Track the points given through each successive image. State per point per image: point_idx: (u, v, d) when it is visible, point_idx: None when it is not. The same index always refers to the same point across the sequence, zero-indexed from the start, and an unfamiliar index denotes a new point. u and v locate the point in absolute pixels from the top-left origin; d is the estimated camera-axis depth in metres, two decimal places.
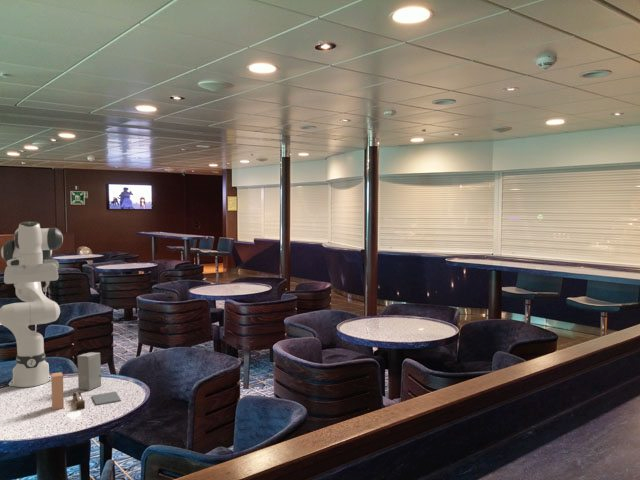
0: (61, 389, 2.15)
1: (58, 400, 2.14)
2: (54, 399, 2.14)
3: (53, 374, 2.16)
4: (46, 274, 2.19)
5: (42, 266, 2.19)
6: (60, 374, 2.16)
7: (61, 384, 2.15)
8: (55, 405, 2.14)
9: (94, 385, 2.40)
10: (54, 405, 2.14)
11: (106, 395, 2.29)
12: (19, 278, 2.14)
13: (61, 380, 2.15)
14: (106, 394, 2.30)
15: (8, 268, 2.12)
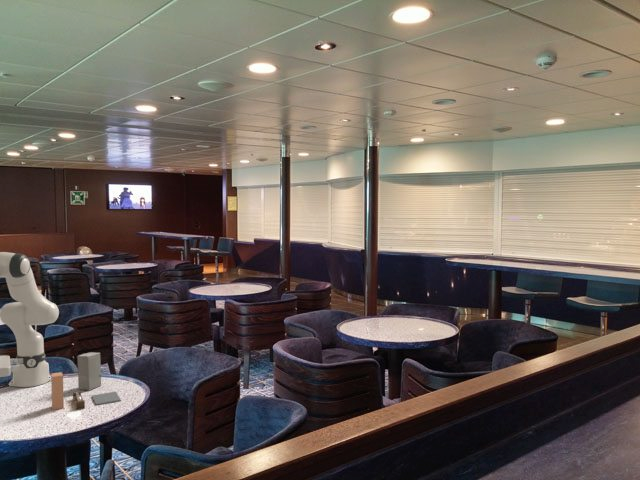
0: (61, 389, 2.15)
1: (58, 400, 2.14)
2: (54, 399, 2.14)
3: (53, 374, 2.16)
4: None
5: None
6: (60, 374, 2.16)
7: (61, 384, 2.15)
8: (55, 405, 2.14)
9: (94, 385, 2.40)
10: (54, 405, 2.14)
11: (106, 395, 2.29)
12: None
13: (61, 380, 2.15)
14: (106, 394, 2.30)
15: None
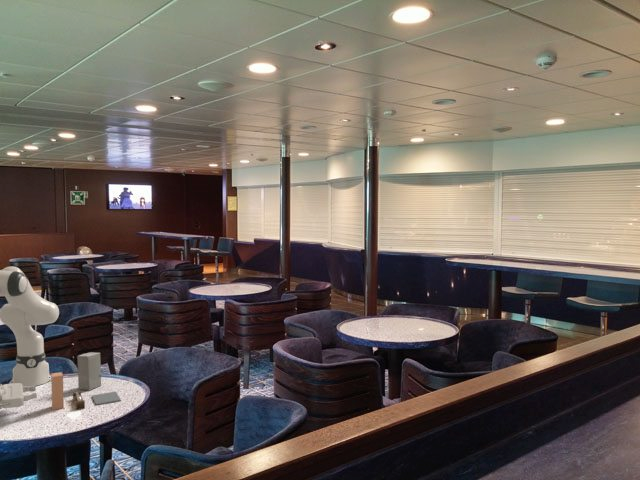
0: (61, 389, 2.15)
1: (58, 400, 2.14)
2: (54, 399, 2.14)
3: (53, 374, 2.16)
4: None
5: None
6: (60, 374, 2.16)
7: (61, 384, 2.15)
8: (55, 405, 2.14)
9: (94, 385, 2.40)
10: (54, 405, 2.14)
11: (106, 395, 2.29)
12: None
13: (61, 380, 2.15)
14: (106, 394, 2.30)
15: None
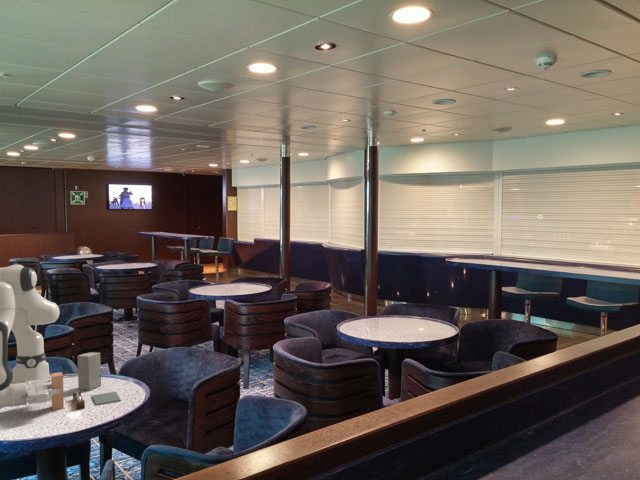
0: (61, 389, 2.15)
1: (58, 400, 2.14)
2: (54, 399, 2.14)
3: (53, 374, 2.16)
4: None
5: None
6: (60, 374, 2.16)
7: (61, 384, 2.15)
8: (55, 405, 2.14)
9: (94, 385, 2.40)
10: (54, 405, 2.14)
11: (106, 395, 2.29)
12: None
13: (61, 380, 2.15)
14: (106, 394, 2.30)
15: None
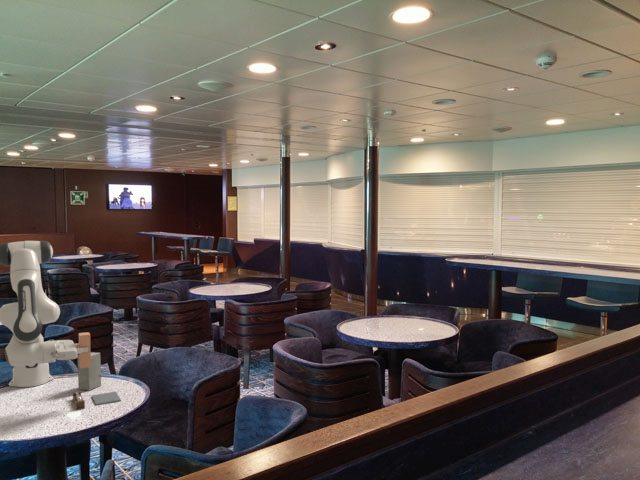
0: (88, 348, 2.19)
1: (85, 358, 2.19)
2: (82, 358, 2.18)
3: (80, 333, 2.21)
4: None
5: None
6: (87, 333, 2.21)
7: (88, 343, 2.19)
8: (82, 363, 2.19)
9: (94, 385, 2.40)
10: (82, 363, 2.18)
11: (106, 395, 2.29)
12: None
13: (88, 339, 2.19)
14: (106, 394, 2.30)
15: None
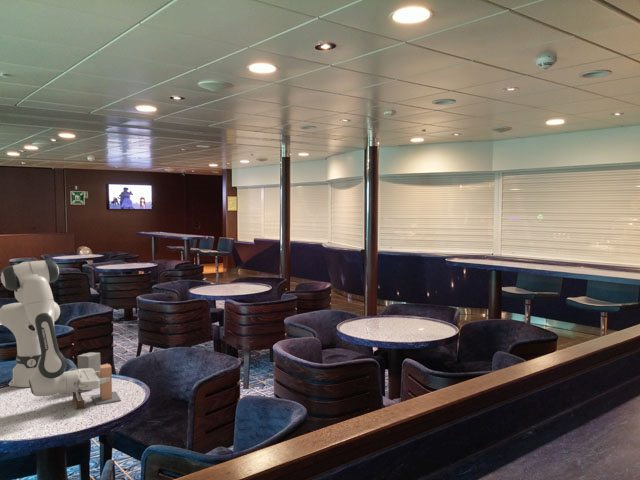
0: (110, 380, 2.25)
1: (106, 390, 2.24)
2: (103, 389, 2.24)
3: (102, 366, 2.26)
4: None
5: None
6: (108, 366, 2.26)
7: (110, 375, 2.25)
8: (104, 395, 2.24)
9: None
10: (103, 395, 2.24)
11: None
12: None
13: (110, 371, 2.25)
14: None
15: None
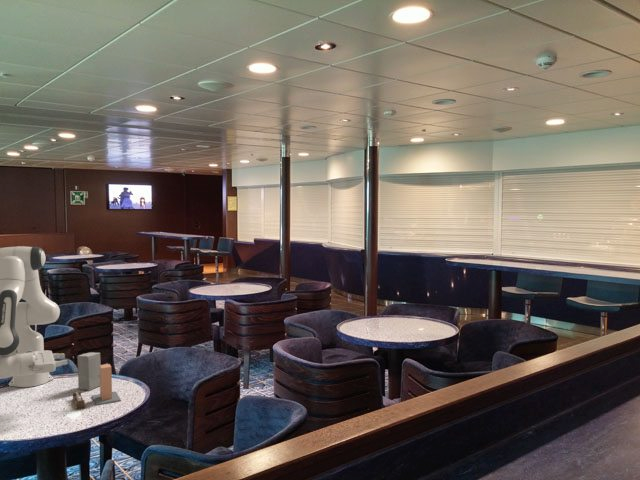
0: (110, 380, 2.25)
1: (106, 390, 2.24)
2: (103, 389, 2.24)
3: (102, 366, 2.26)
4: None
5: None
6: (108, 366, 2.26)
7: (110, 375, 2.25)
8: (104, 395, 2.24)
9: (94, 385, 2.40)
10: (103, 395, 2.24)
11: None
12: None
13: (110, 371, 2.25)
14: None
15: None
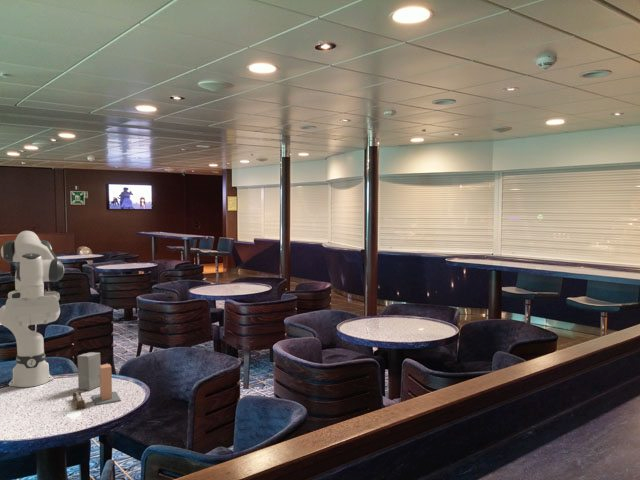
0: (110, 380, 2.25)
1: (106, 390, 2.24)
2: (103, 389, 2.24)
3: (102, 366, 2.26)
4: (47, 306, 2.19)
5: (44, 298, 2.19)
6: (108, 366, 2.26)
7: (110, 375, 2.25)
8: (104, 395, 2.24)
9: (94, 385, 2.40)
10: (103, 395, 2.24)
11: None
12: (19, 310, 2.14)
13: (110, 371, 2.25)
14: None
15: (9, 301, 2.11)
